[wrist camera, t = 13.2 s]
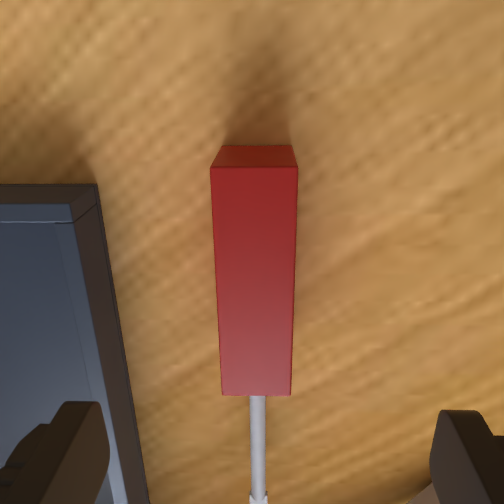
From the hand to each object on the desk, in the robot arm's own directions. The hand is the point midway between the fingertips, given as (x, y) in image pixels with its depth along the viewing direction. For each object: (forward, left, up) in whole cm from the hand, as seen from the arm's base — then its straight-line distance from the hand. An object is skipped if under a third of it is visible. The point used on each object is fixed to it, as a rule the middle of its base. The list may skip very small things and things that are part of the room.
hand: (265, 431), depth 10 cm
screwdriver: (+5, 0, -11) cm, 12 cm away
